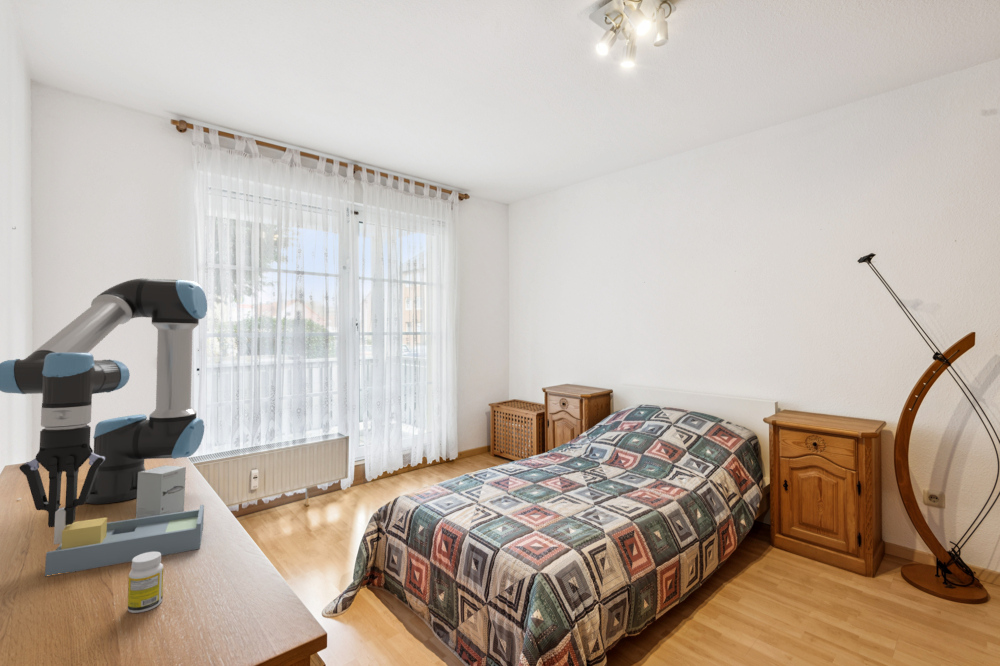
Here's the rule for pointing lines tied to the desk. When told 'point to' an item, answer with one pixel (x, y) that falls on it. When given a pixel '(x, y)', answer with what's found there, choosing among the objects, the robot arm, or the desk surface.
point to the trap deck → (132, 542)
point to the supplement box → (160, 491)
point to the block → (84, 533)
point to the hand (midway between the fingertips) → (60, 541)
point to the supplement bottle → (145, 582)
